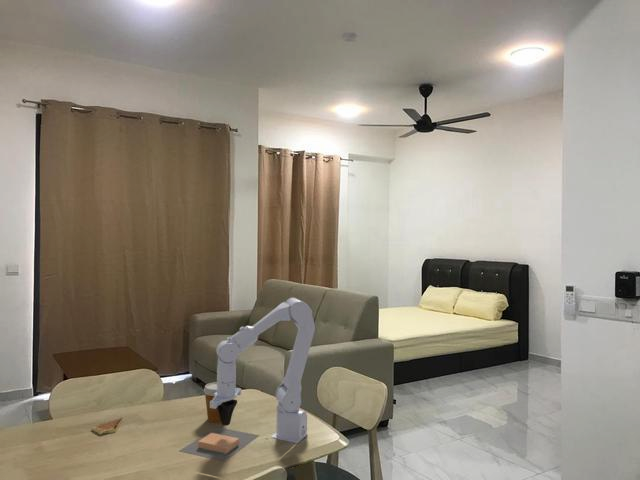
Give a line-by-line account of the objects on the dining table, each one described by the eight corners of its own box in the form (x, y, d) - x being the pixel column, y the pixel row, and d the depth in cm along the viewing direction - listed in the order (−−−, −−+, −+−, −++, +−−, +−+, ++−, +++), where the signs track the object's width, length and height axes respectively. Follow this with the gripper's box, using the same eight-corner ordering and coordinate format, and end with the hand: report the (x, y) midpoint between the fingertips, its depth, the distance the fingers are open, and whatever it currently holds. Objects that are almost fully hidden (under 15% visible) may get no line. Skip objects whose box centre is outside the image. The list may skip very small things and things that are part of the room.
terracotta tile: (239, 438, 152) (226, 447, 145) (239, 445, 152) (226, 454, 145) (211, 432, 156) (198, 441, 149) (211, 439, 156) (197, 448, 149)
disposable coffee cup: (228, 425, 168) (228, 390, 168) (199, 425, 168) (200, 389, 168) (233, 415, 177) (234, 382, 177) (206, 414, 177) (207, 381, 177)
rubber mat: (259, 436, 160) (259, 435, 159) (224, 462, 141) (224, 461, 141) (217, 428, 166) (217, 427, 166) (178, 452, 147) (178, 450, 147)
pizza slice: (122, 421, 171) (122, 416, 171) (134, 427, 166) (134, 422, 166) (91, 431, 162) (91, 425, 162) (102, 437, 157) (103, 432, 157)
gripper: (228, 373, 162) (227, 414, 162) (201, 385, 148) (200, 430, 149) (247, 375, 159) (246, 418, 159) (221, 388, 146) (220, 434, 146)
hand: (225, 424), depth 154 cm, fingers closed
